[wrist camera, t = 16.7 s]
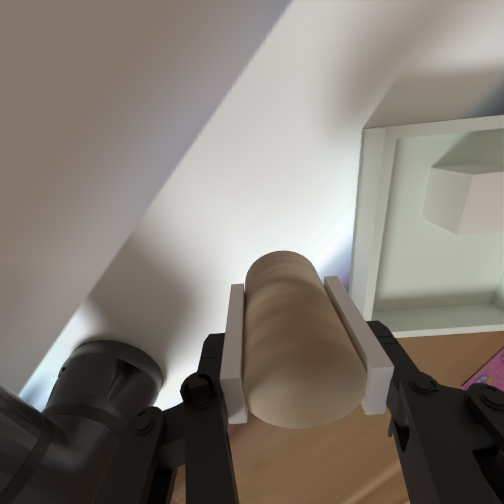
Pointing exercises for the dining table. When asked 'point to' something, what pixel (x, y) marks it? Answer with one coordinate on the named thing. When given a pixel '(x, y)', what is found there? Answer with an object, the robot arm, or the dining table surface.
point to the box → (490, 373)
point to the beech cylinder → (296, 347)
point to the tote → (424, 233)
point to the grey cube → (466, 198)
